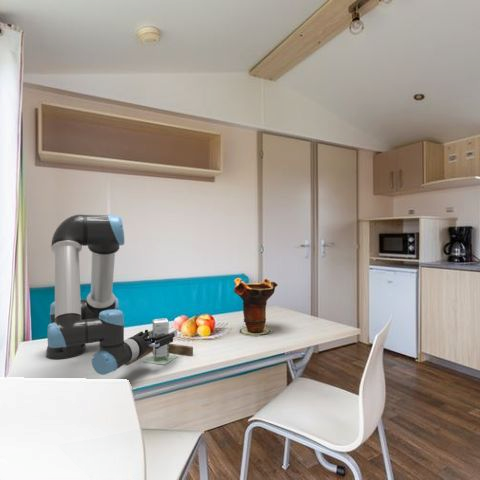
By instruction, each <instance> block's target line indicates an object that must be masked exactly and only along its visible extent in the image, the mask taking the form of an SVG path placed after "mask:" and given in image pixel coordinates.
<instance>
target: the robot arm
mask: <svg viewBox="0 0 480 480" xmlns="http://www.w3.org/2000/svg"><path fill="white" fill-rule="evenodd" d="M122 221H123V220H122V218H121V217H120V216H119V215H111V214H108V215H105V214H103V215H101V214H73V215H72V216H71V215H70V216H69V217H67V218H66V219H64V220H63V221H62V222H61V223H60V224H59V225H58V227H57V228H56V229H55V231H54V233H53V236H52V238H51V251H52V252H53V253H54V301H53V302H51V304H50V310H49V311H50V312H49V315H50V323H49V324H48V325H47V346H46V349H45V350H46V351H45V356H46V358H48V359H51V360H62V359H69V358H73V357H76V356H79V355H82V354H84V353H85V352H86V351H87V348H86V347H87V346H86V344H93V343H99V351H97V352H95V354H94V355H93V357H92V359H91V364H92V368H93V370H94V371H95V372H96V373H97V374H98V375H102V376H104V375H108V374H110V373H113V372H115V371H116V370H117V369H119V368H122V367H123V366H126V365H125V364H128V362H130V361H132V360H134V359H136V358H138V357H140V356H142V355H143V354H144V353H145V352H146V350H147V349H149V348H151V347H155V349H158V348H160V347H162V346H164V345H166V344H172V343H173V342H174V338H175V337H177V336H178V329H177V328H175V329H173V330H169V332H168V333H167V335H163V336H159V337H153V328H152V329H151V330H149V329H145V330H144V331H140V332H138V333H136V334H134V335H133V336H131V337H128V338H126V339H125V337H124V336H125V328H124V327H125V322H124V313H123V311H122V310H120V309H119V307H120V305H119V303H120V302H119V299H118V297H116V295H115V294H114V293H113V286H114V284H113V283H114V273H115V272H114V271H115V260H116V259H115V257H116V253H117V252H119V250H120V246H124V245H125V232H124V227H123V222H122ZM84 246H85V247H86V246H87V249H88V250H89V251H90V252H91V273H90V275H91V277H90V278H91V279H90V292H89V293H88V295H87V296H86V299H82V298H81V280H80V279H81V277H80V275H81V274H80V252H81V251H82V247H84Z"/></svg>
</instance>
